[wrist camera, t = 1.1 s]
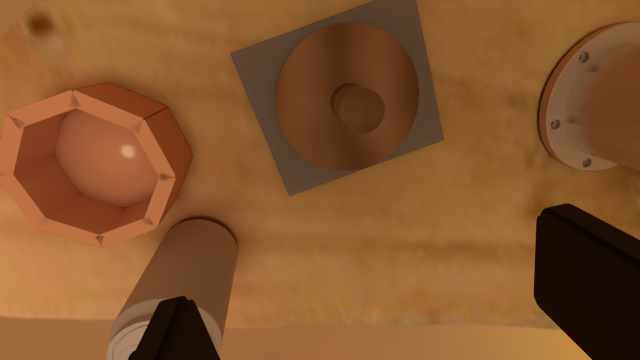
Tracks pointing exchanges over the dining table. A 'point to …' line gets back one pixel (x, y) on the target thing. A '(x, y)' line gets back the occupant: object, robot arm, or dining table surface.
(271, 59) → the mat
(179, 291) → the beverage can
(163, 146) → the bowl
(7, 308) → the dining table surface
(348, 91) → the lid
